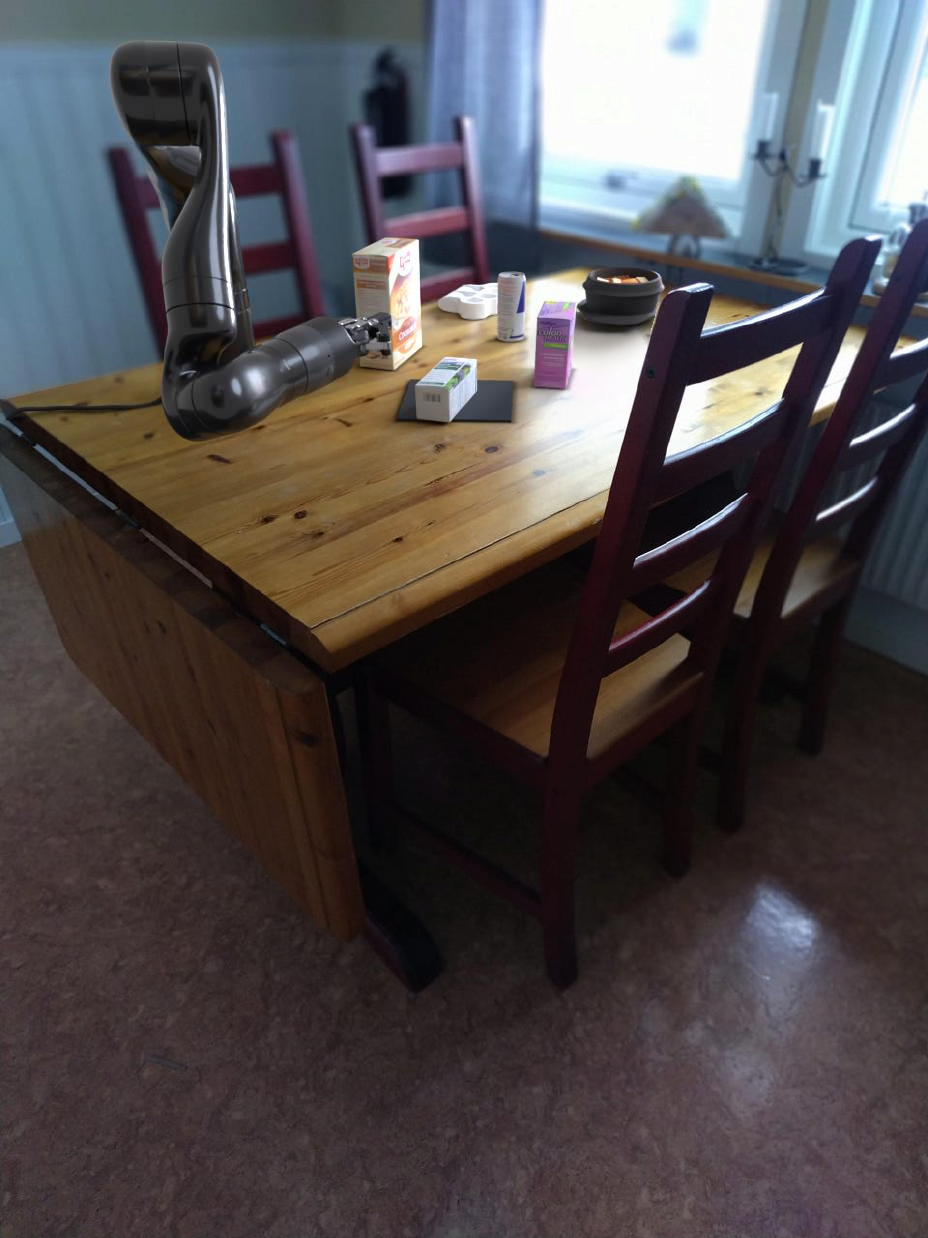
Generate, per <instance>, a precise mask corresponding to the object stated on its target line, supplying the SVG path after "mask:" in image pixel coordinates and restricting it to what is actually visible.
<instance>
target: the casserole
mask: <svg viewBox="0 0 928 1238" xmlns="http://www.w3.org/2000/svg"><path fill="white" fill-rule="evenodd" d="M581 287H582V289H583V290H584V292H585V298H584V299H582V300H580V301H579V302H578V303H577V305H576V310H578V311H579V312H580V313H581V314H582V318H583V319H584V320H586V321H589V322H592V323H597V324H602V325H603V324H605V325H615V326H632V325H633V326H634V325H639V324H641V323H643V322H645V321H647V320H650V319H654V318H656V317H655V313H656V309H657V306H658V304H659V302H660V297H661V293H662V292H663V291H664V290H665V288H666V286H665V284H664V283H663V281H662V276H661V274H659V273H657V272H656V271H653V270H651V269H645V268H639V267H630V266H629V267H628V266H616V267H615V266H614V267H613V266H612V267H604V268H598V269H595V270H592V271H590V272H588V274H587V276H586V278H585V280H584V281H583V282H582V284H581Z"/></svg>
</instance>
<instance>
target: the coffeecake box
mask: <svg viewBox="0 0 928 1238" xmlns="http://www.w3.org/2000/svg"><path fill="white" fill-rule="evenodd" d="M419 241H420V240H419V239H416V238H403V237H387V236H386V237H383V238H381V239H380V240H377V241H376V242H374V243H371V244H370V245H367V246H365V247H363V248H361V249H360V250H358V251H355V252H353V253H351V258H352V259H351V260H352V271H353V274H352V275H353V285H354V286H353V287H354V299H355V300H354V301H355V313H356V319H357V318H360V317H365V318H368V317H370V316H372V315H374V314H376V313H379V312H385V313H390V314H391V317H392V329H391V330H389V333H390V342H391V355H389V356H383V355H382V354H381V352H380V353H378V352H377V350H370V352H369V354H368V355H366V356H363V357H359V367H361V368H371V369H377V370H378V369H379V370H385V371H386V370H387V371H395V370H396V369H397V368H399V367H400V366H401V365H402V364H403V363H405V362H406V361H407V360H408V359H409V358H410V357H411V356H412V355H413V354H415V353H416V352H418V351H419V349H421V348H422V347H423V343H422V342H423V341H422V340H423V339H422V314H421V284H420V283H421V282H420V280H421V279H420V278H421V277H420V251H419V250H420V249H419V248H420V247H419V243H420V242H419Z"/></svg>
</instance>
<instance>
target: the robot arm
mask: <svg viewBox="0 0 928 1238" xmlns="http://www.w3.org/2000/svg"><path fill="white" fill-rule="evenodd" d="M110 57H111V58H110V61H109V70H108V71H109V73H108V75H109V76H108V77H109V78H108V79H109V88H110V92H111V97H112V102H113V106H114V108H115V111H116V114H117V116H118V119H119V122H120V124H121V126H122V128H123V130H124V132H125V134H126V135H127V137H128V138H129V140H130V142H131V143H132V144H133V146H134V147H135V148H136V150H137V151H138V152H139V155H140V158H141V160H142V163H143V166H144V169H145V172H146V174H147V176H148V179H149V181H150V183H151V185H152V187H153V189H154V191H155V193H156V195H157V197H158V201H159V207H160V210H161V214H162V215H161V216H162V218H163V221H164V225H165V227H166V230H167V231H168V233H169V235H168V237H167V239H166V242H165V245H164V248H163V252H162V257H161V282H162V289H163V297H164V298H163V299H164V306H165V314H166V321H167V337H166V341H165V347H164V354H163V355H164V358H163V364H162V365H163V366H162V373H161V385H160V396H159V397H157V398H156V399H154V400H152V401H150V402H149V401H148V402H146V403H141V404H105V405H103V404H102V405H51V406H50V405H47V406H22V407H18V408H15V409H13V410H12V411H11V412H10V413H8V415H7V416H6V418H5V421H11V420H13V419H14V418H15V417H16V416H18V415H19V414H22V413H25V412H54V411H55V412H56V411H78V412H79V411H80V412H81V411H84V412H87V411H89V412H90V411H91V412H92V411H94V412H97V411H111V410H112V411H113V410H114V411H115V410H119V411H120V410H121V411H123V410H124V411H125V410H134V409H140V408H146V407H153V406H156V405H158V404H161V405H162V409H163V413H164V415H165V417H166V420H167V423H168V424H169V425H170V427H171V429H172V431H174V432H175V433H176V434H177V435H178V436H179V437H181V439H184V440H186V441H189V442H195V443H201V442H202V443H203V442H207V441H210V440H211V441H212V440H214V439H218V438H219V439H220V438H222V437H226V436H230V435H235V434H238V433H241V432H244V431H246V430H248V429H251V428H252V427H254V426H256V425H258V424H259V423H261V422H262V421H264V420H265V419H266V418H268V417H269V416H270V415H271V414H273V412H275V411H276V410H277V409H278V408H279V409H280V408H281V407H283V406H285V405H288V404H289V403H291V402H293V401H295V400H296V399H299V398H301V397H304V396H308V395H310V394H312V393H315V392H317V391H319V390H321V389H322V388H324V387H326V386H328V385H330V384H331V383H334V382H335V381H338V380H339V379H341V378H343V377H345V376H346V375H347V374H348V373H349V372H350V371H351V369H352V367H353V365H354V363H355V362H356V360H357V359H360V357H363V356H366V355H368V354H369V352H370V350H377V352H378V353H380V352H381V354H382V355H383V356H389V355H391V342H390V333H389V330H391V329H392V317H391V314H390V313H385V312H379V313H376V314H374V315H372V316H370V317H368V318H365V317H360V318H357V317H356V318H354V317H353V316H350V315H349V316H342V317H335V318H331V317H329V316H317V317H314V318H312V319H309V320H307V321H305V322H302V323H299V324H297V325H295V326H293V327H291V328H288V329H286V330H284V331H281V332H280V333H278V334H276V335H275V336H273V337H272V338H271V339H268V340H266V341H264V342H261V343H259V344H257V343H256V337H255V330H254V323H253V316H252V310H251V303H250V296H249V290H248V284H247V277H246V272H245V267H244V260H243V253H242V246H241V235H240V227H239V226H240V225H239V216H238V205H237V199H236V194H235V190H234V188H233V185H232V182H231V179H230V139H229V115H228V114H229V113H228V103H227V95H226V94H227V93H226V86H225V79H224V74H223V71H222V67H221V64H220V60H219V58H218V56H217V54H216V52H215V51H214V49H213V48H212V47H211V46H209V45H208V44H206V43H201V42H192V41H174V40H173V41H172V40H168V41H167V40H144V39H143V40H141V39H140V40H138V39H137V40H136V39H135V40H130V41H126V42H123V43H120V44H118V45H117V47H116V48H115V49H114V50H113V51H112V54H111V56H110Z"/></svg>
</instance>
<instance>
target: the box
mask: <svg viewBox="0 0 928 1238" xmlns="http://www.w3.org/2000/svg"><path fill="white" fill-rule="evenodd" d="M577 305H578V303H577V302H574V301H563V300H562V301H561V300H544V301H543V303H542V305H541V308H540V310H539V313H538V315H537V317H536V332H535V349H534V371H533V372H534V373H533V387H535V388H545V389H558V390H559V389H561V390H566V388H567V386H568V383H569V382H568V381H569V378H570V375H571V373H572V369H573V357H574V356H573V353H574V339H575V327H576V316H577Z"/></svg>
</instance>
